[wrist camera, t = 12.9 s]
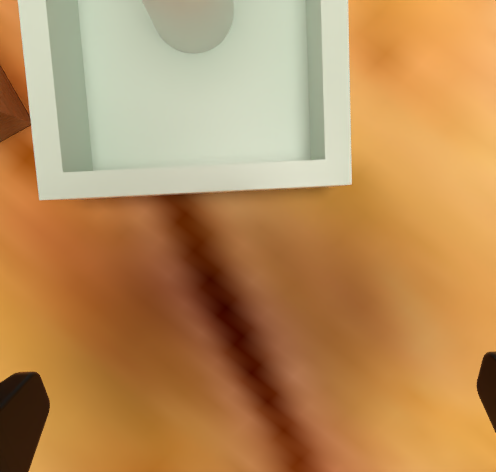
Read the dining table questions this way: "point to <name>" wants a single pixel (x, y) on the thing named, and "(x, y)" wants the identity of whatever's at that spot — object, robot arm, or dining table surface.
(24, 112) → the block
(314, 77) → the tray
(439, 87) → the dining table surface
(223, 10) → the beige capped cylinder
